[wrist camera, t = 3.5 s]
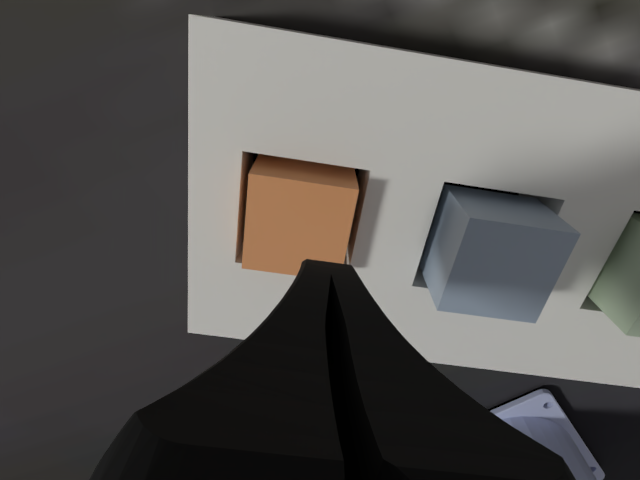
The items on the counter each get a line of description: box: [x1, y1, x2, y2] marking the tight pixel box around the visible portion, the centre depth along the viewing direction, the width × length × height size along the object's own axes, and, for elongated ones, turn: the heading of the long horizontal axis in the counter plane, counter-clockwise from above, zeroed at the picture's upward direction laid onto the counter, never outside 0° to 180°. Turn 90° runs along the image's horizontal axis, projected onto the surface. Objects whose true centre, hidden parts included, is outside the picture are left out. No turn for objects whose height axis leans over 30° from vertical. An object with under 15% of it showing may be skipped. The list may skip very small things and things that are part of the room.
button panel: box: [188, 14, 640, 388], centre depth 17 cm, size 22×12×3 cm, turn 81°
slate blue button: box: [419, 184, 581, 324], centre depth 15 cm, size 4×4×3 cm
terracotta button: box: [242, 154, 359, 276], centre depth 15 cm, size 4×4×3 cm
